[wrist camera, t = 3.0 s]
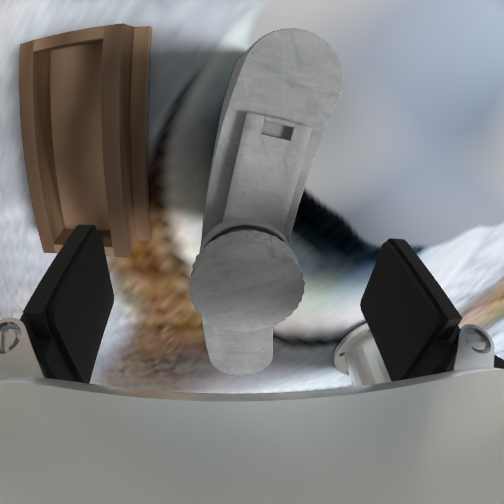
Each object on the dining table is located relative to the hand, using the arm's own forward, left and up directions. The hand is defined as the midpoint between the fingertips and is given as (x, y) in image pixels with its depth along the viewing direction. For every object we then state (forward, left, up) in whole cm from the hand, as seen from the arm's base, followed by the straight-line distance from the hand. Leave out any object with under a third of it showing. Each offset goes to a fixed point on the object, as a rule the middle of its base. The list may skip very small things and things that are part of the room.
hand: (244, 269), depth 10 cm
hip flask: (0, 0, -19) cm, 19 cm away
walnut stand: (+14, 0, -19) cm, 24 cm away
